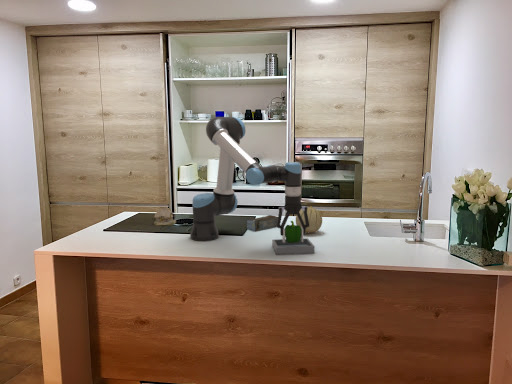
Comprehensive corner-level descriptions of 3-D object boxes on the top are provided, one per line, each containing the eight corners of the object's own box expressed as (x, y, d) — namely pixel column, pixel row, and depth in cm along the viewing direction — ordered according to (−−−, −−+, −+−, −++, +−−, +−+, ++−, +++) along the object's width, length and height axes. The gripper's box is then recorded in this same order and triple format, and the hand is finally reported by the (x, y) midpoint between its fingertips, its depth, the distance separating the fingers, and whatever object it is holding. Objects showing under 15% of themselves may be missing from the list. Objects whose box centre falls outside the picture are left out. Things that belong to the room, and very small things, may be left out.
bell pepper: (301, 244, 193) (301, 224, 191) (283, 244, 194) (283, 223, 193) (302, 239, 201) (302, 220, 200) (285, 239, 203) (285, 219, 201)
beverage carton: (246, 229, 239) (246, 218, 238) (270, 224, 251) (270, 214, 250) (255, 232, 233) (254, 220, 232) (279, 227, 245) (279, 216, 244)
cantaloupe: (295, 236, 224) (295, 209, 221) (296, 229, 238) (296, 204, 236) (322, 236, 222) (322, 209, 219) (321, 230, 236) (322, 204, 234)
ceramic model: (150, 225, 252) (149, 209, 250) (158, 221, 262) (158, 205, 261) (171, 226, 248) (171, 210, 247) (179, 222, 259) (178, 206, 258)
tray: (276, 254, 191) (276, 247, 190) (272, 246, 204) (272, 239, 204) (314, 253, 192) (314, 246, 192) (307, 245, 206) (307, 238, 206)
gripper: (272, 196, 189) (272, 244, 193) (316, 195, 192) (316, 242, 195) (269, 194, 197) (270, 240, 200) (312, 193, 199) (312, 238, 202)
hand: (292, 241), depth 198 cm, fingers closed on bell pepper, 8 cm apart
